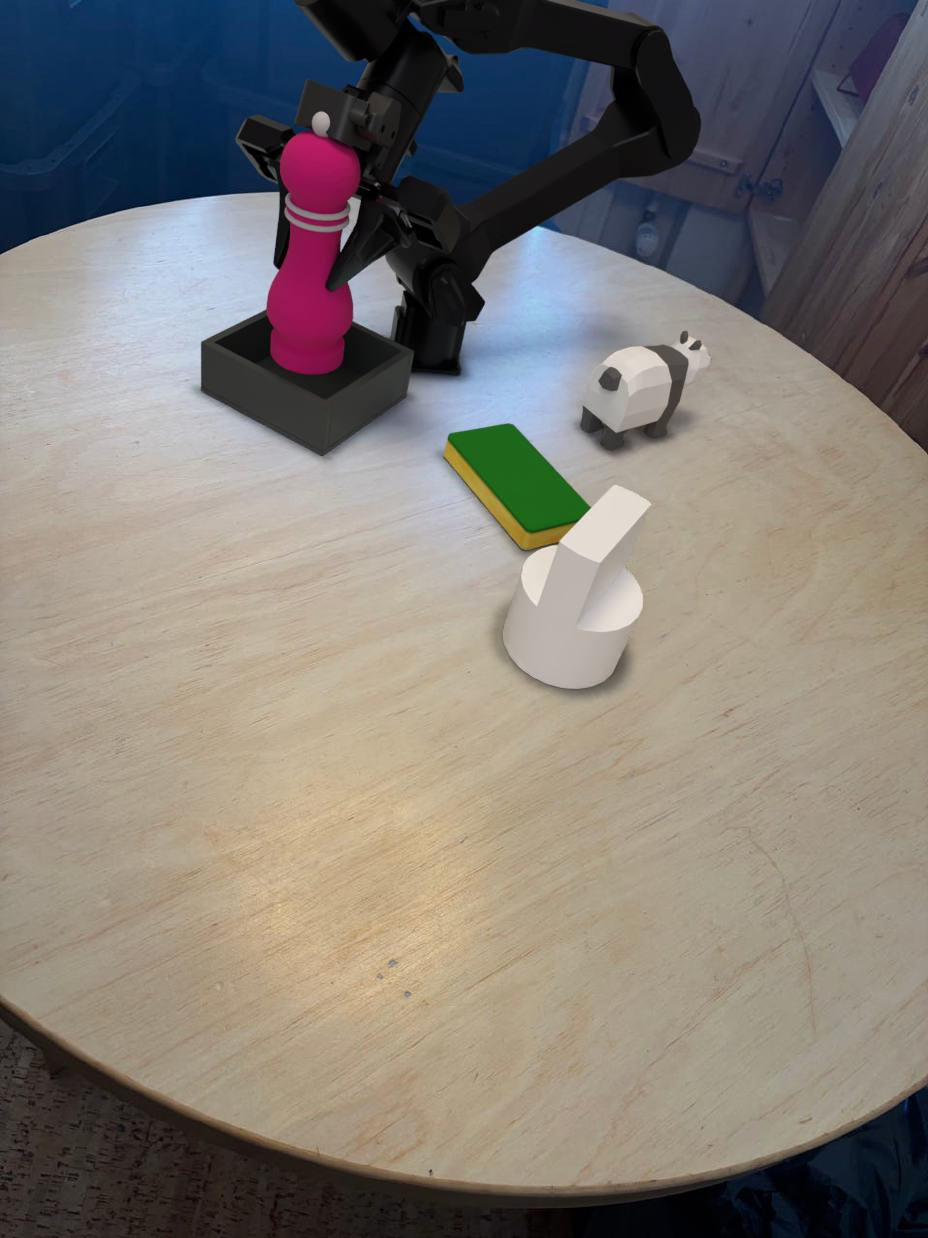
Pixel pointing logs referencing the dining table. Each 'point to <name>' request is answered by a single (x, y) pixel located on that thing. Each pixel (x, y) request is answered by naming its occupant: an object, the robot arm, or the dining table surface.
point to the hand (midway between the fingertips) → (302, 278)
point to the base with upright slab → (579, 597)
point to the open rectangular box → (305, 383)
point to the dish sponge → (516, 484)
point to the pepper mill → (313, 252)
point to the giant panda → (641, 388)
